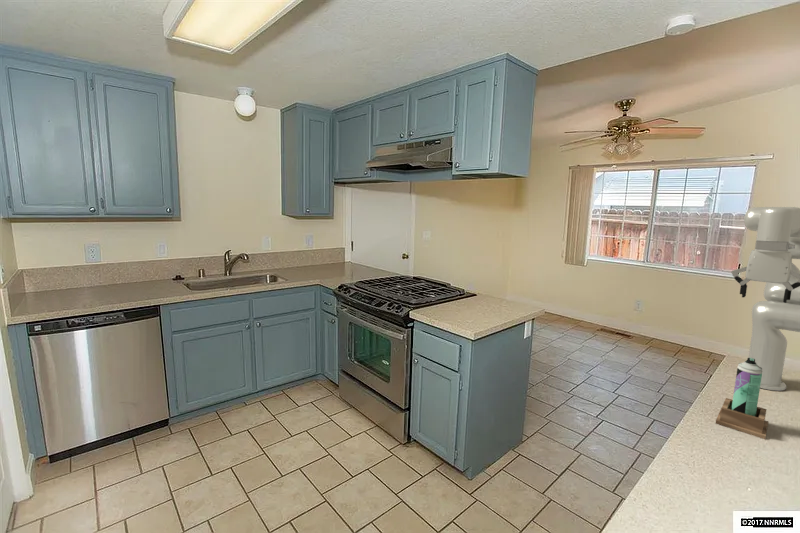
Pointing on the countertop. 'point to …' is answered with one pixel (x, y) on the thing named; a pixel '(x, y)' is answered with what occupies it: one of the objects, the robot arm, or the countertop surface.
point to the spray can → (747, 387)
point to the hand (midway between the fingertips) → (763, 299)
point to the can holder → (743, 420)
